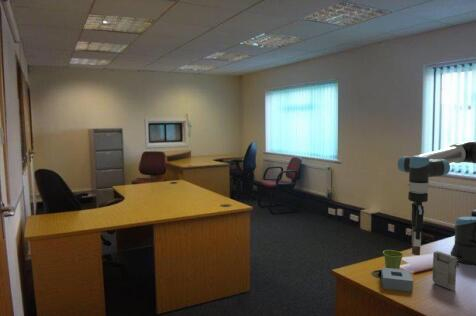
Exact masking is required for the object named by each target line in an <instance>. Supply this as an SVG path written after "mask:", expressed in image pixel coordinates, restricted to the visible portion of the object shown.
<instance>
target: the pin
mask: <svg viewBox="0 0 476 316" xmlns="http://www.w3.org/2000/svg"><path fill="white" fill-rule="evenodd" d="M413 230H415V226H413ZM413 244H414V232H413V236H412V235H411V254H412V255H413V256H420V255H421V247H419V246H413Z"/></svg>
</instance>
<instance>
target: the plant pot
mask: <svg viewBox="0 0 476 316" xmlns="http://www.w3.org/2000/svg"><path fill="white" fill-rule="evenodd" d="M382 254H383V257H384V263H385V268H392V269H401V268H400V267H401V261H402V258H403V257H404V254H403V252H401V251H398V250H393V249H386V250H385V249H384V250H383V251H382Z"/></svg>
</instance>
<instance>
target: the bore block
mask: <svg viewBox="0 0 476 316" xmlns="http://www.w3.org/2000/svg"><path fill="white" fill-rule="evenodd" d="M380 271H381V274H380V278H381V283H382V288H383V289H384V290H385V289H386V290H393V291H394V290H395V291H401V292H402V291H403V292H411V293H413V292H414V291H413V290H414V280H413V277H412V274H411V272H410V270H409V269H401V268H399V269H392V268H386V267H381V270H380Z"/></svg>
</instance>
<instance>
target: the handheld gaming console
mask: <svg viewBox="0 0 476 316" xmlns="http://www.w3.org/2000/svg"><path fill="white" fill-rule="evenodd" d="M432 260H433V261H432V278H431V279H432V281H433V283H434V284H435V285H438V286H440V287H443V288H446V289H448V290H451V291H455V290H456V282H457V263H458V262H457V257H455V256H452V255H450V254H448V253H445V252H442V251H439V250H436V251H434V252H433V259H432Z"/></svg>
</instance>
